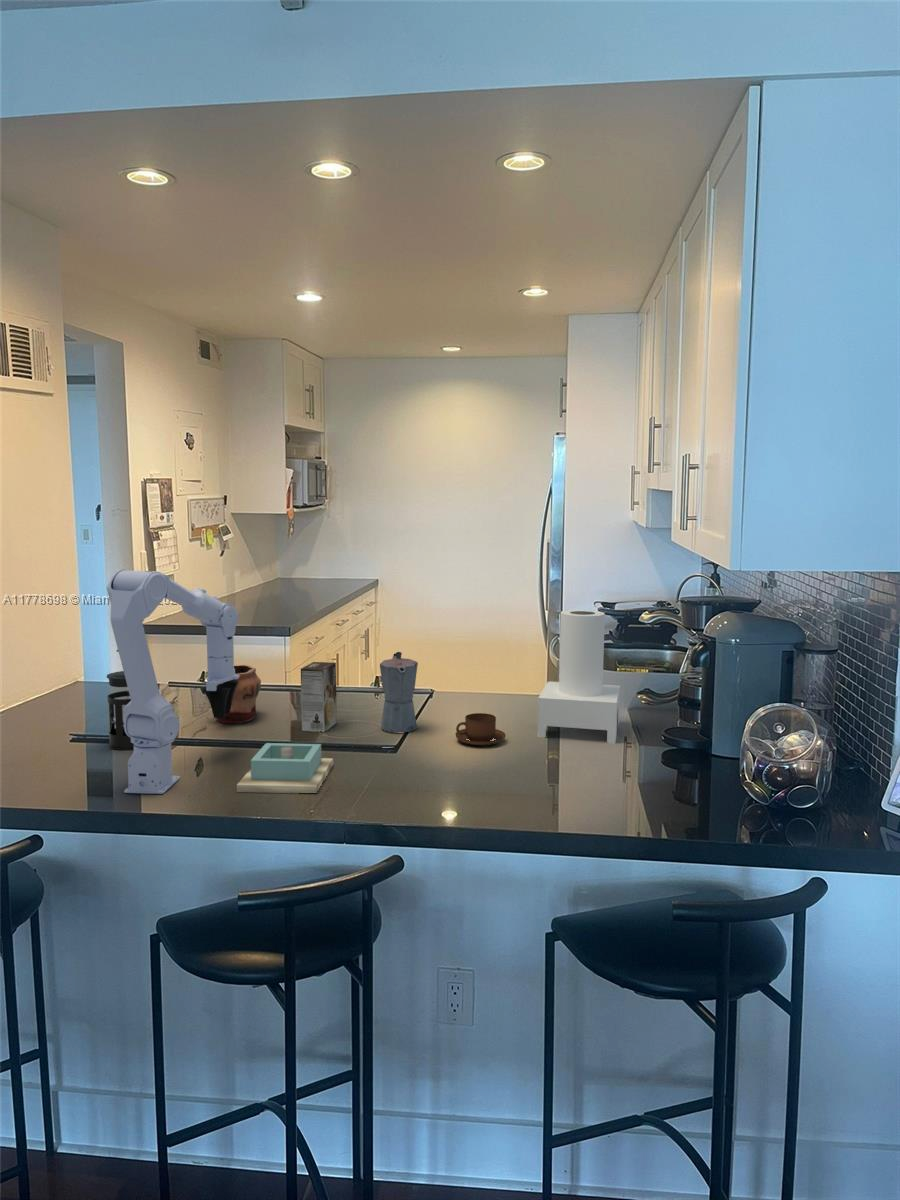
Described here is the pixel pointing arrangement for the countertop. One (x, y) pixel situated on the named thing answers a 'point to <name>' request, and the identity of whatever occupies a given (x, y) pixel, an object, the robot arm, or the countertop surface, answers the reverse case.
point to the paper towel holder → (580, 679)
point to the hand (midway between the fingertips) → (222, 715)
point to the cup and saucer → (479, 730)
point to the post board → (287, 785)
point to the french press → (118, 713)
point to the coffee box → (318, 696)
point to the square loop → (286, 762)
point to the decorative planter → (244, 696)
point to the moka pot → (398, 694)
